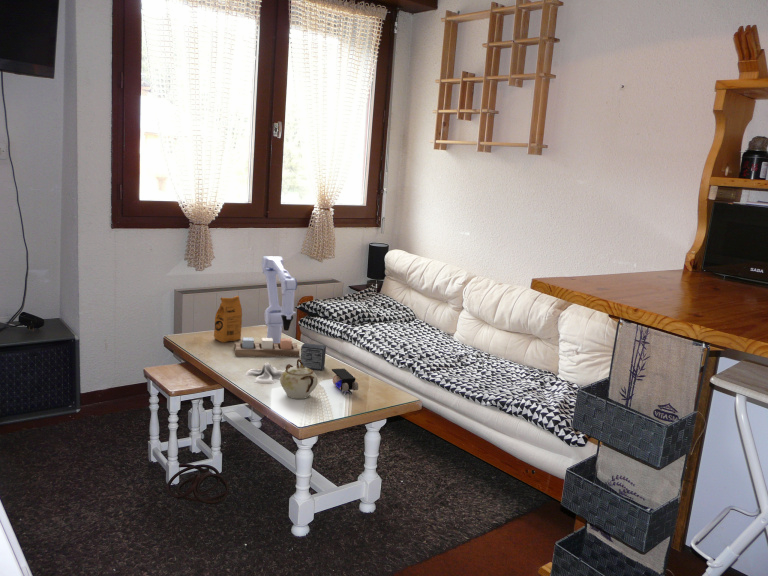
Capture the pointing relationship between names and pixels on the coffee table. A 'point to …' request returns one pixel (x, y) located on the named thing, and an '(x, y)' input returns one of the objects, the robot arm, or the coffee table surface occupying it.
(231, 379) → the coffee table surface
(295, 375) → the sugar bowl
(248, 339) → the slate block
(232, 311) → the coffee package
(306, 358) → the small box
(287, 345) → the terracotta block
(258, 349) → the block rack
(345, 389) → the figurine character
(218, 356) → the coffee table surface
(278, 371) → the cloth
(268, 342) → the cream block
